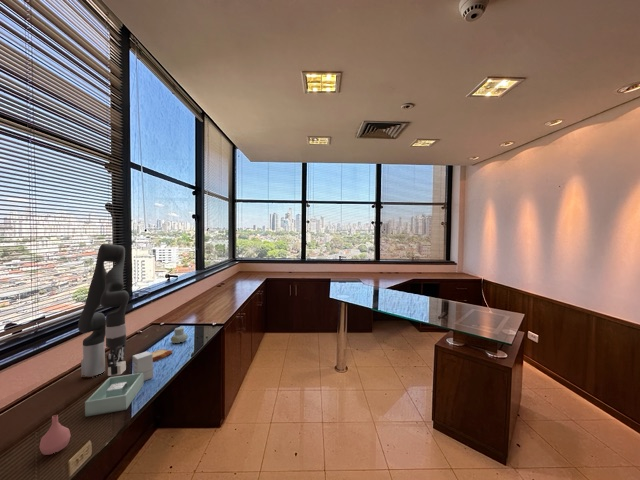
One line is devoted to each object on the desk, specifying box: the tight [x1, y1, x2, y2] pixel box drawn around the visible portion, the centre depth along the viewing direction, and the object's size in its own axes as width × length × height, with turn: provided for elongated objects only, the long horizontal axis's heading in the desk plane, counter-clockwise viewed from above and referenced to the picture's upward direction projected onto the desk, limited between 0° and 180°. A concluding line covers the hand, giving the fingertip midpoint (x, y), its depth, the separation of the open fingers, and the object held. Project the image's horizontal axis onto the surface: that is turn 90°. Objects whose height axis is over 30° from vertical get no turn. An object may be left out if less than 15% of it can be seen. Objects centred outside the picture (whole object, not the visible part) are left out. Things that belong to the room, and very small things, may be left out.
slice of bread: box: [150, 348, 173, 363], centre depth 168 cm, size 18×18×4 cm
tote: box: [84, 373, 144, 418], centre depth 124 cm, size 15×22×6 cm
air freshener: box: [170, 326, 189, 344], centre depth 195 cm, size 11×8×10 cm
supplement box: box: [132, 351, 154, 382], centre depth 143 cm, size 7×7×13 cm
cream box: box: [107, 360, 127, 377], centre depth 124 cm, size 5×5×4 cm
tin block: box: [106, 382, 127, 398], centre depth 124 cm, size 6×6×5 cm
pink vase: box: [39, 414, 72, 456], centre depth 93 cm, size 8×8×12 cm
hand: (117, 371), depth 124 cm, fingers closed on cream box, 5 cm apart
